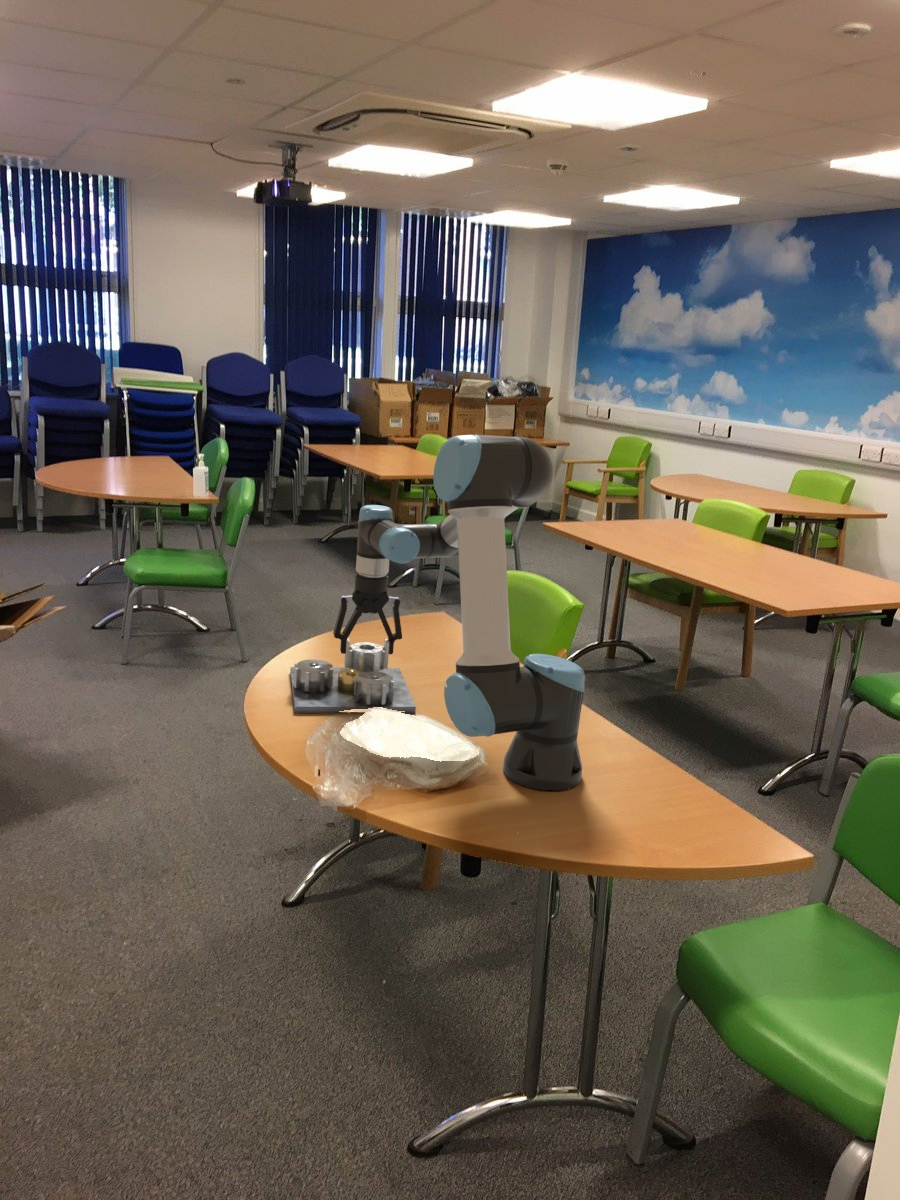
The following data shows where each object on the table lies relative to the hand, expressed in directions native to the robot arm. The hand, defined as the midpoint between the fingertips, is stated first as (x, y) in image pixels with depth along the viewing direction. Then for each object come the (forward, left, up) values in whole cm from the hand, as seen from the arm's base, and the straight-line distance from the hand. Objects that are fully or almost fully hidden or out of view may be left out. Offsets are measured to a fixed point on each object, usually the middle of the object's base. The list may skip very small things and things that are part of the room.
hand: (365, 666), depth 218 cm
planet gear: (0, 0, 0) cm, 0 cm away
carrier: (-8, +4, -4) cm, 9 cm away
